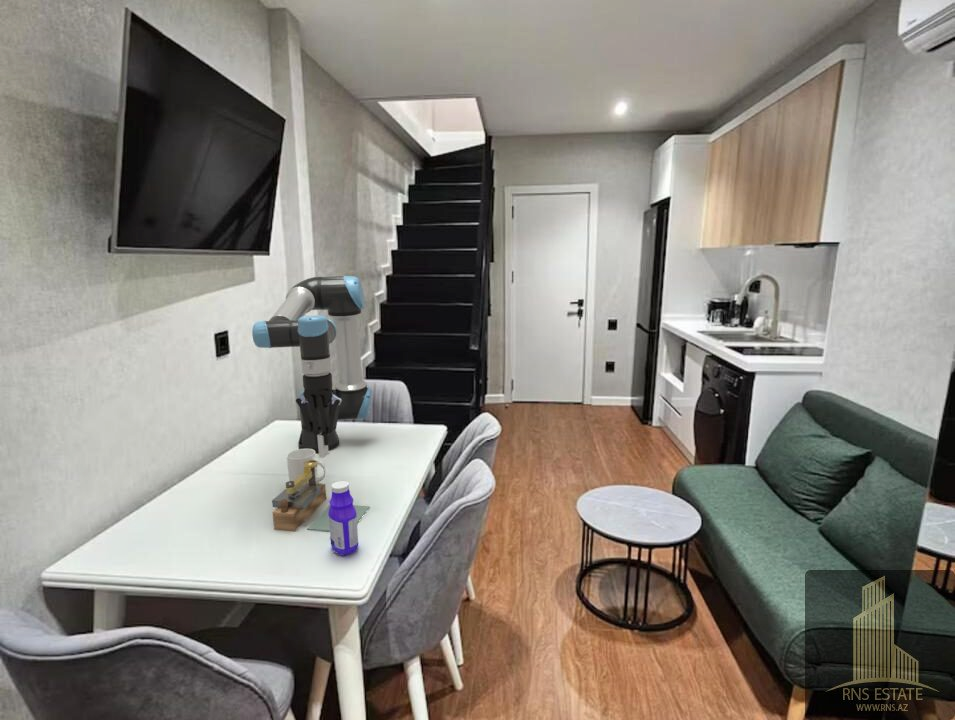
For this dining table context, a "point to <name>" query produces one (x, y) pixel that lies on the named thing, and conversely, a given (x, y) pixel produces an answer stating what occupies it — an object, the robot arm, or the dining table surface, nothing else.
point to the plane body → (296, 517)
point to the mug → (302, 463)
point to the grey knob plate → (298, 497)
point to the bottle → (342, 520)
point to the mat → (323, 519)
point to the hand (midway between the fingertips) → (324, 455)
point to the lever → (301, 477)
